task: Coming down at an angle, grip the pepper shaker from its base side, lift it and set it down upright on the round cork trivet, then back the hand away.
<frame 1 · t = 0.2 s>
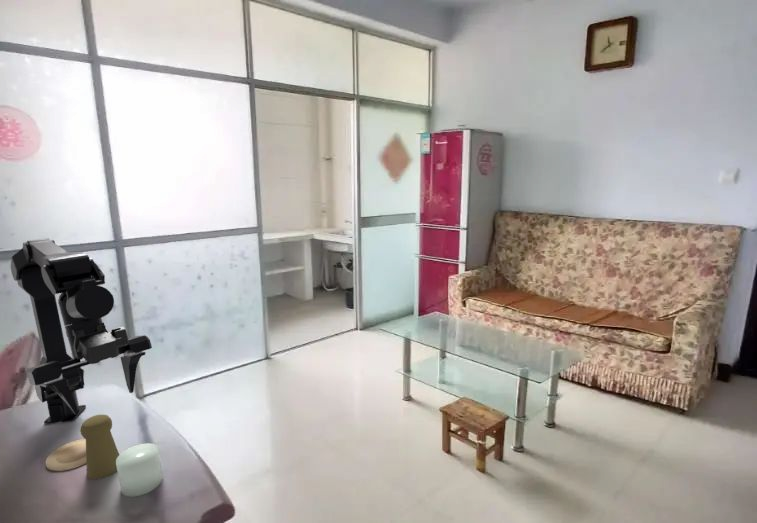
hand: (105, 402, 81), 16 cm above the table, tool tilted 15°, fingers open, 9 cm apart
pale mint rounded cylinder: (142, 483, 82), on the table
trivet: (75, 454, 91), on the table
pepper shaker: (104, 469, 86), on the table
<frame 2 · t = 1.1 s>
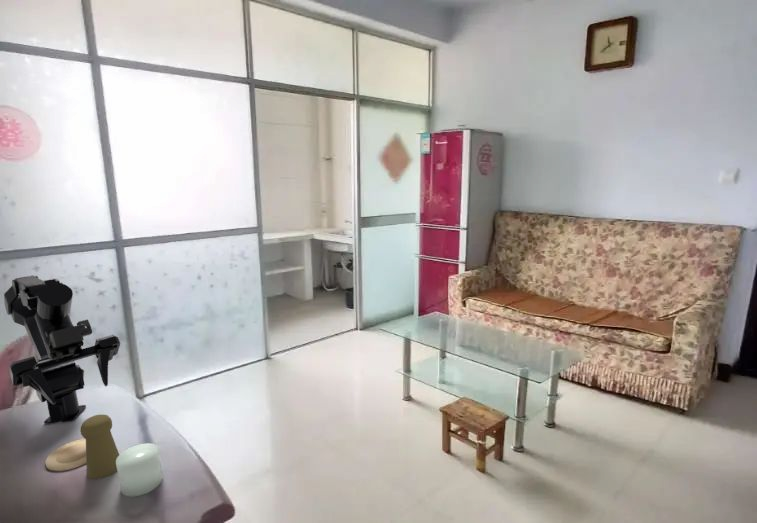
hand: (81, 394, 89), 13 cm above the table, tool tilted 45°, fingers open, 9 cm apart
nothing on the table moved.
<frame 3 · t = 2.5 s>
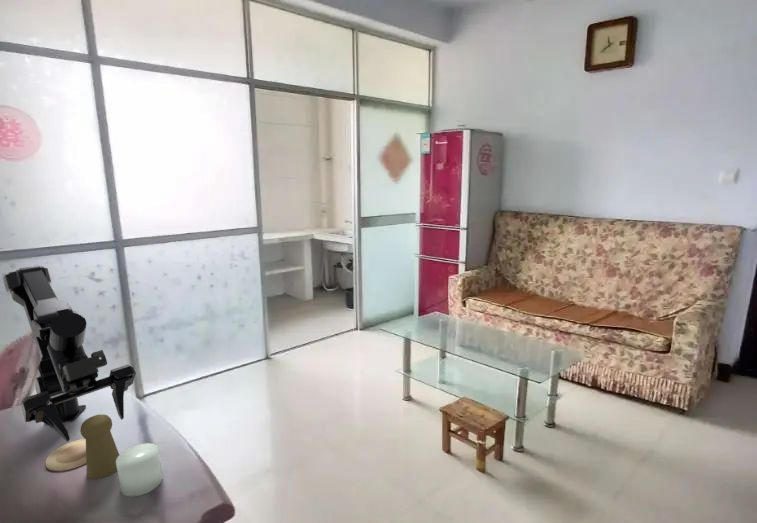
hand: (96, 429, 85), 9 cm above the table, tool tilted 45°, fingers open, 9 cm apart
nothing on the table moved.
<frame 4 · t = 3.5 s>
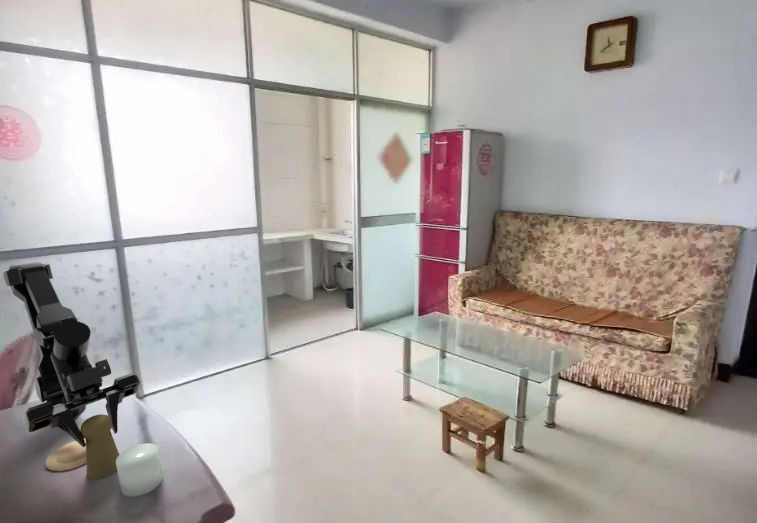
hand: (100, 439, 84), 7 cm above the table, tool tilted 45°, fingers closed on pepper shaker, 5 cm apart
pepper shaker: (104, 469, 86), on the table, touching gripper
everything else where it was.
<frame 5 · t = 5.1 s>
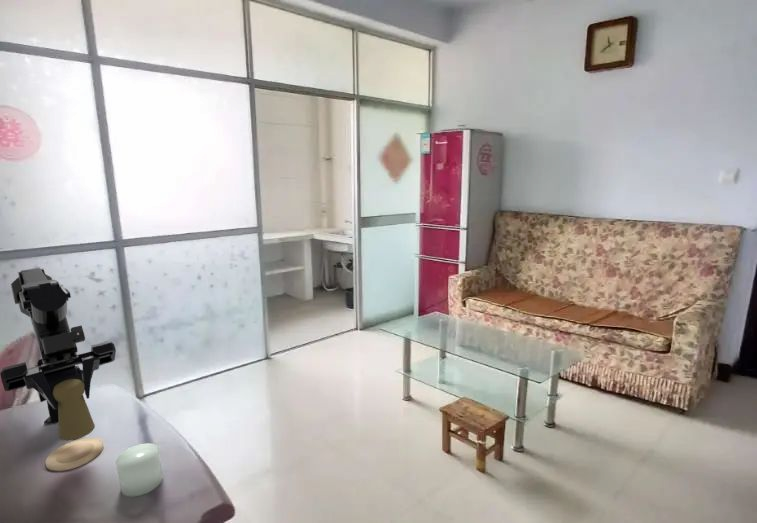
hand: (72, 403, 86), 13 cm above the table, tool tilted 45°, fingers closed on pepper shaker, 5 cm apart
pepper shaker: (77, 432, 88), point 6 cm above the table, touching gripper
everything else where it was.
when the fingers open (8 cm above the table, at t = 6.6 s): pepper shaker stays where it is, resting on trivet.
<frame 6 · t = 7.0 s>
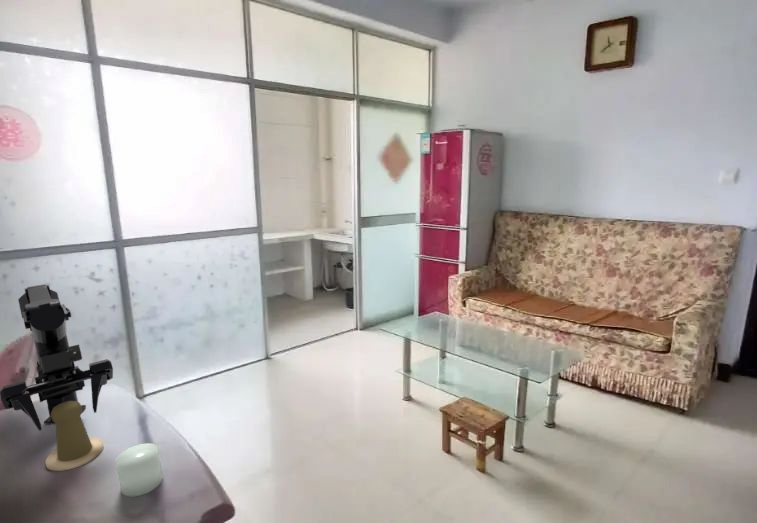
hand: (68, 420, 88), 9 cm above the table, tool tilted 45°, fingers open, 9 cm apart
pepper shaker: (75, 452, 91), resting on trivet
everything else where it was.
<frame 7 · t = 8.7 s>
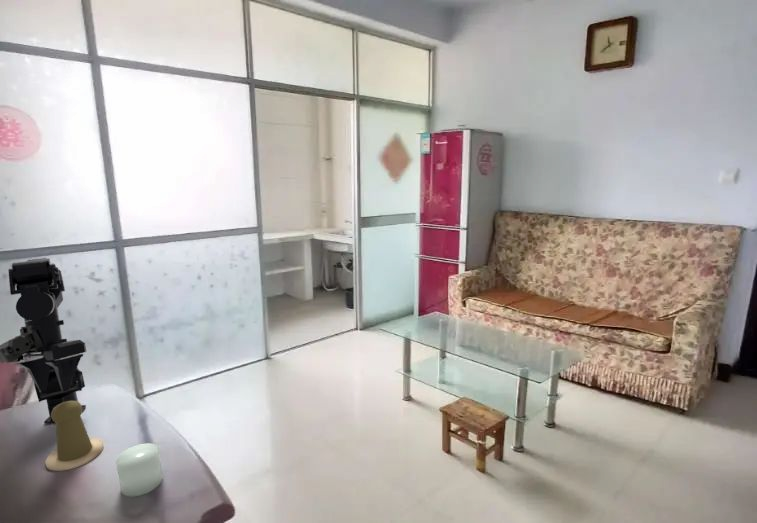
hand: (54, 390, 93), 12 cm above the table, tool pointing down, fingers open, 9 cm apart
nothing on the table moved.
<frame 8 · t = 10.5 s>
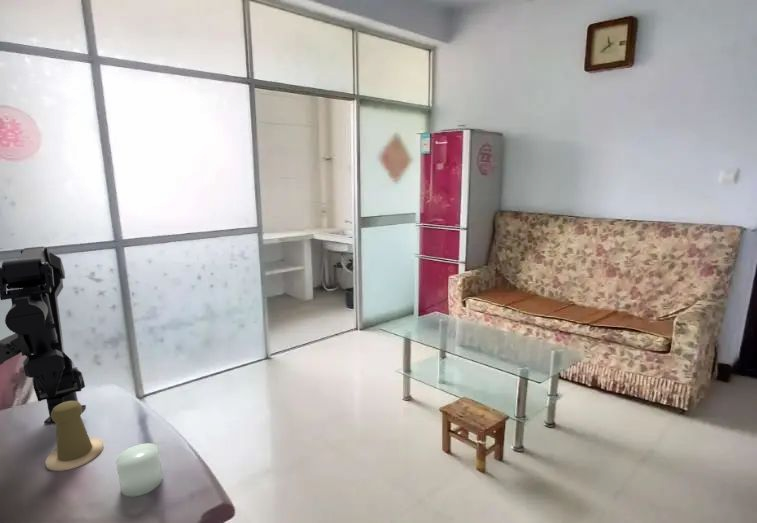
hand: (50, 388, 92), 13 cm above the table, tool pointing down, fingers open, 9 cm apart
nothing on the table moved.
at the end: pepper shaker 0.1 cm from the trivet (horizontally); pepper shaker tilted 0°; the gripper is holding nothing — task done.
